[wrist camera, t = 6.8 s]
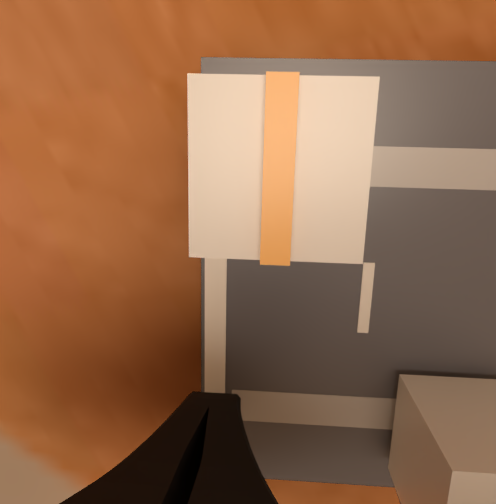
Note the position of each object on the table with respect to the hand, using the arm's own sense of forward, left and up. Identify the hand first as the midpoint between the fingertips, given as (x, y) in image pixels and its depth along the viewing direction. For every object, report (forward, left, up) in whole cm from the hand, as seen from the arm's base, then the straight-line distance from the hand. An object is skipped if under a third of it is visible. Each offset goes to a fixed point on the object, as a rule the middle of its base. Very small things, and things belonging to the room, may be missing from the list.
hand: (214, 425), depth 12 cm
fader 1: (-1, -7, -1) cm, 7 cm away
